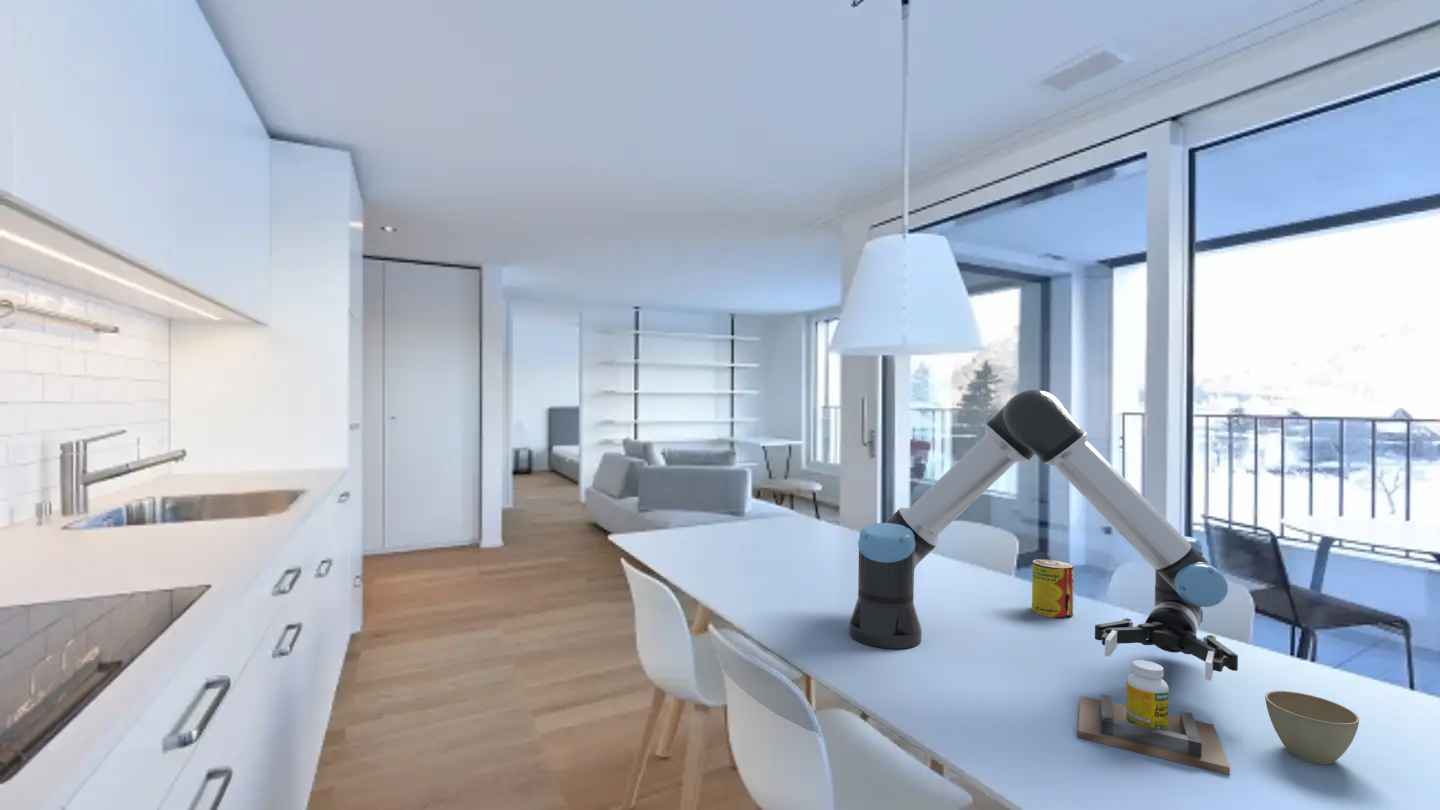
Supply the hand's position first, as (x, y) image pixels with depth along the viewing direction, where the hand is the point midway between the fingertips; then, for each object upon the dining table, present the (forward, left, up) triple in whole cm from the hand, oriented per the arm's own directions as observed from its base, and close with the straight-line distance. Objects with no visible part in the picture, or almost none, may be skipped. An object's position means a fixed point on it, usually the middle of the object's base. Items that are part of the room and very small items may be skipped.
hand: (1155, 659), depth 103 cm
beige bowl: (+18, -2, -9) cm, 21 cm away
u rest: (-2, -8, -9) cm, 12 cm away
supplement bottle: (-2, -8, -8) cm, 12 cm away
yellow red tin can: (-18, +51, -9) cm, 55 cm away
